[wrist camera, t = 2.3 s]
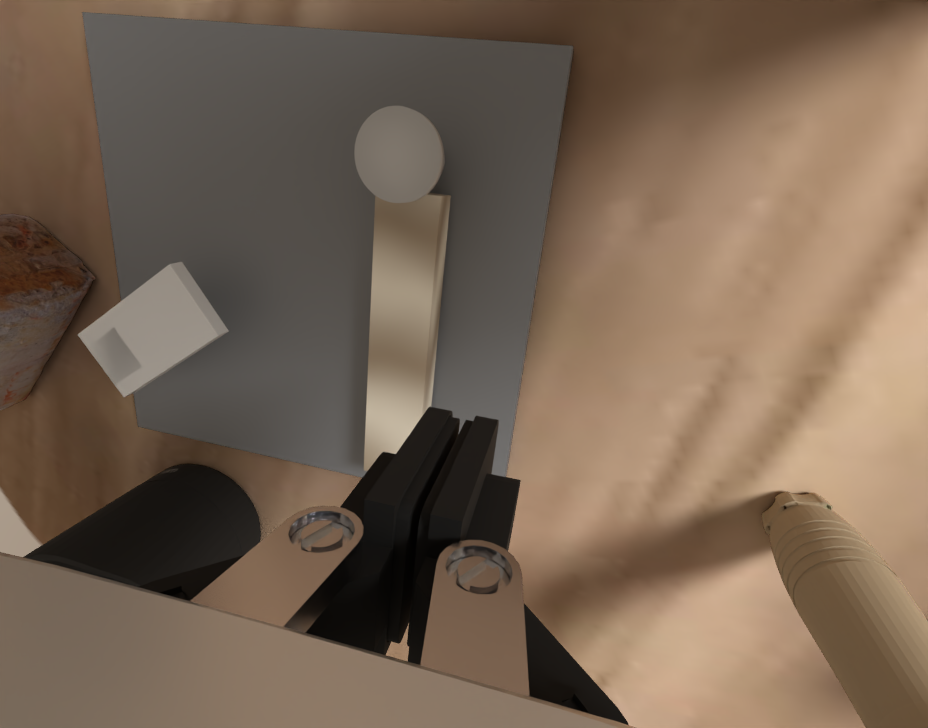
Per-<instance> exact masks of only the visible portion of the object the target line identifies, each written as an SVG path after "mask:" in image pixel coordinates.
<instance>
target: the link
mask: <svg viewBox="0 0 928 728" xmlns="http://www.w3.org/2000/svg"><path fill="white" fill-rule="evenodd" d="M450 199H451V195H443V194H435V193H428V194H427V195H426V196H424V197H422V198H421V199H419V200H416V201H413V202H407V203H392V202H388V201H385V200H382V199H380V198H378V197H377V196H376V195H375V216H374V240H373V263H372V286H371V310H370V333H369V356H368V380H367V403H366V426H365V450H364V470H365V471H368V470H369V468H370V467H371V466H372V464H373V463H374V462H375V461H376V459H377V458H378V457H379V455H380V454H381V453H382V452H389V453H393V454H396V453H397V452H398V450H399V449H400V447H401V446H402V445H403V443H404V442H405V440H406V439H407V437H408V436H409V435H410V433H411V432H412V430H413V429H414V427H415V426H416V424H417V423H418V422H419V420H420V419H421V417H422V416H423V414H424V413H425V412H426V410H427V409H428V407H431V404H432V394H433V383H434V372H435V361H436V350H437V340H438V329H439V318H440V307H441V296H442V286H443V275H444V264H445V253H446V242H447V232H448V221H449V210H450Z"/></svg>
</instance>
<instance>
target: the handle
mask: <svg viewBox="0 0 928 728" xmlns="http://www.w3.org/2000/svg"><path fill="white" fill-rule="evenodd" d="M832 508H833V507H832V506H831V505H830V504H829V503H828V502H827V501H826V500H825V499H824V498H822V497H821V496H819V495H818V494H816V493H809V494H791V493H790V492H783V493H781V494H779V495H777V496H776V497H775V502H774V503H773V505H772V506H771V507H770V508H769V509H768V510H767V511H764V512H763V514H762V523H763V527H764V530H765V532H766V533H767V534H769V535H770V543H771V548H772V552H773V555H774V559H775V562H776V565H777V568H778V570H779V573H780V575H781V578H782V581H783V583H784V585H785V588H786V590H787V592H788V594H789V596H790V597H791V600H792V602H793V604H794V605H795V607H796V609H797V611H798V613H799V615H800V617H801V618H802V620H803V622H804V623H805V625H806V627H807V628H808V630H809V632H810V633H811V635H812V637H813V638H814V640H815V642H816V643H817V645H818V647H819V648H820V650H821V652H822V653H823V655H824V657H825V658H826V660H827V662H828V663H829V665H830V667H831V668H832V670H833V672H834V673H835V675H836V677H837V678H838V680H839V682H840V683H841V685H842V687H843V688H844V690H845V692H846V694H847V695H848V697H849V699H850V701H851V702H852V704H853V706H854V708H855V709H856V711H857V713H858V715H859V716H860V718H861V720H862V722H863V723H864V725H865V727H866V728H928V621H927V619H926V618H925V616H924V615H923V613H922V612H921V610H920V609H919V607H918V606H917V604H916V603H915V601H914V600H913V598H912V597H911V595H910V594H909V592H908V591H907V589H906V588H905V587H904V585H903V584H902V582H901V581H900V580H899V578H898V577H897V576H896V574H895V573H894V572H893V571H892V569H891V568H890V567H889V566H888V564H887V563H886V562H885V560H884V559H883V558H882V557H881V556H880V554H879V553H878V552H877V551H876V550H875V549H874V548H873V546H872V545H870V544H869V542H868V541H867V540H866V539H865V538H864V537H863V536H862V535H861V534H860V533H859V532H858V531H857V530H856V529H855V528H854V527H852V526H851V525H850V524H849V523H848V522H847V521H846V520H844V519H843V518H842V517H841V516H839V515H838V514H836V513H835V512H833V510H832Z"/></svg>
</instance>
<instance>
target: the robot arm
mask: <svg viewBox="0 0 928 728" xmlns="http://www.w3.org/2000/svg"><path fill="white" fill-rule="evenodd" d="M459 426H460V419H459V418H454V417H453V413H452V411H450V410H445V409H440V408H434V407H428V409H427V410H426V412H425V413H424V414H423V416H422V417H421V419H420V420H419V422H418V423H417V424H416V426H415V427H414V429H413V430H412V432H411V433H410V435H409V436H408V437H407V439H406V440H405V442H404V443H403V445H402V446H401V447H400V449H399V450H398V452H397V453H396V454H393V453H389V452H382V453H381V454H380V455H379V457H378V458H377V459H376V461H375V462H374V463H373V464H372V466H371V467H370V468H369V470H368V471H367V472H366V474H365V475H364V476H363V478H362V479H361V480H360V482H359V483H358V484H357V486H356V487H355V488H354V490H353V491H352V492H351V494H350V495H349V496H348V498H347V499H346V500H345V502H344V503H343V504H342V506H341V507H336V506H317V507H311V508H307V509H305V510H302V511H299V512H297V513H296V514H294V515H292V516H291V517H289V518H288V519H287V520H286V521H284V522H283V523H282V524H281V525H280V526H278V527H277V528H276V529H275V530H274V531H273V532H271V533H270V534H269V535H268V536H267V537H265V538H264V539H263V540H262V541H261V542H259V543H258V544H257V545H256V546H255V547H254V548H252V549H251V550H250V551H249V552H248V553H246V554H245V555H243V556H239V557H236V558H232V559H228V560H225V561H221V562H218V563H214V564H211V565H207V566H204V567H200V568H197V569H193V570H190V571H186V572H183V573H179V574H176V575H172V576H169V577H165V578H162V579H158V580H155V581H152V582H149V583H147V584H144V585H141V586H139V587H135V586H132V585H128V584H124V583H121V582H117V581H113V580H110V579H106V578H102V577H98V576H95V575H91V574H87V573H84V572H80V571H76V570H72V569H69V568H65V567H61V566H58V565H53V564H49V563H45V562H40V561H36V560H32V559H27V558H23V557H19V556H14V555H10V554H6V553H1V552H0V728H635V727H632V726H629V725H628V722H627V721H626V719H625V718H624V716H623V715H622V714H621V712H620V711H619V709H618V708H617V707H616V705H615V704H614V703H613V702H612V701H611V700H610V699H609V698H608V697H607V695H606V694H605V693H604V692H603V691H602V690H601V689H600V688H599V686H598V685H597V684H596V683H595V682H594V681H593V680H592V679H591V678H590V676H589V675H588V674H587V673H586V672H585V671H584V670H583V669H582V667H581V666H580V665H579V664H578V663H577V662H576V661H575V660H574V659H573V657H572V656H571V655H570V654H569V653H568V652H567V651H566V650H565V649H564V647H563V646H562V645H561V644H560V643H559V642H558V641H557V640H556V638H555V637H554V636H553V635H552V634H551V633H550V632H549V631H548V630H547V628H546V627H545V626H544V625H543V624H542V623H541V622H540V621H539V619H538V618H537V617H536V616H535V615H534V614H533V613H532V612H531V611H530V609H529V608H528V607H527V606H526V605H525V604H524V600H523V584H522V573H521V569H520V565H519V563H518V562H517V561H516V559H515V558H514V556H513V555H512V554H510V553H509V552H508V548H509V543H510V538H511V533H512V527H513V521H514V516H515V510H516V504H517V498H518V493H519V487H520V480H517V479H512V478H507V477H503V476H498V475H493V474H492V467H493V460H494V453H495V447H496V440H497V433H498V426H499V420H497V419H491V418H486V417H481V416H475V418H474V420H473V421H470V420H466V421H465V422H464V424H463V426H462V428H461V431H460V433H459ZM458 434H459V435H458ZM408 623H409V629H408V640H407V645H408V646H409V655H408V662H407V661H404V660H400V659H397V658H393V657H390V656H386V653H387V650H388V648H389V646H390V643H391V641H392V642H395V643H400V642H401V640H402V638H403V636H404V633H405V631H406V628H407V626H408Z"/></svg>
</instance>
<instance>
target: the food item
mask: <svg viewBox="0 0 928 728" xmlns="http://www.w3.org/2000/svg"><path fill="white" fill-rule="evenodd" d="M94 279H95V277H94V276H93V275H92V273H91V272H90V271H89V270H88V269H87V268H85V267H84V266H83V262H82V261H81V260H80V259H79V258H78V257H77V256H76V255H74V254H73V253H72V252H70V251H69V250H67V249H66V248H65V247H64V246H63V245H62V244H61V243H60V242H59V241H58V240H56V239H55V238H54V237H53V236H52V235H51V234H50V233H49V232H48V231H46V229H45V228H44V227H43V226H42V225H41V224H40V223H38V222H37V221H35V220H33V219H32V218H30V217H27V216H22V215H16V214H4V215H0V410H3V409H5V408H8V407H10V406H12V405H14V404H16V403H18V402H20V401H22V400H25V399H26V398H27V396H28V395H29V394H30V391H31V389H32V387H33V386H34V384H35V382H36V381H37V379H38V378H39V376H40V374H41V372H42V369H43V367H44V365H45V364H46V362H47V361H48V359H49V358H50V356H51V355H52V353H53V351H54V349H55V347H56V346H57V344H58V343H59V341H60V339H61V337H62V335H63V334H64V332H65V330H66V329H67V327H68V325H69V324H70V322H71V320H72V319H73V317H74V314H75V312H76V311H77V309H78V307H79V306H80V304H81V301H82V299H83V298H84V296H85V295H86V293H87V292H88V290H89V288H90V286H91V284H92V281H93V280H94Z"/></svg>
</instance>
